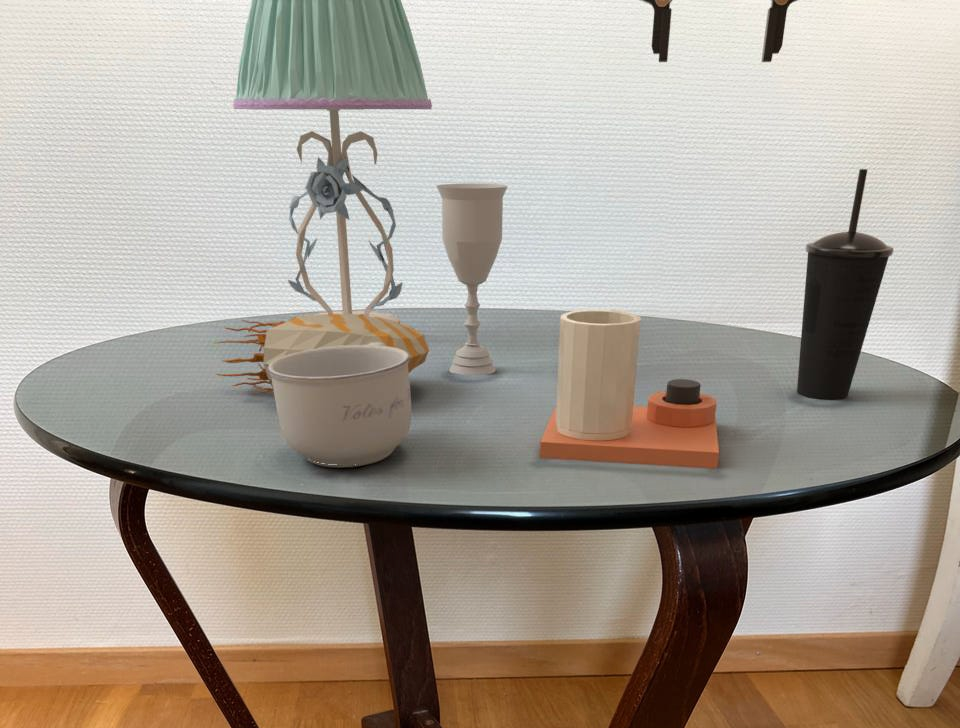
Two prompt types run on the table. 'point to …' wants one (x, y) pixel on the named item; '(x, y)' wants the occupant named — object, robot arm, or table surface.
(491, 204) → the chalice
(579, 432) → the cup
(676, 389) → the button
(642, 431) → the scale
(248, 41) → the table lamp
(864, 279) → the drinking cup
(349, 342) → the nautilus
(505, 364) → the table surface
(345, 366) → the teacup
